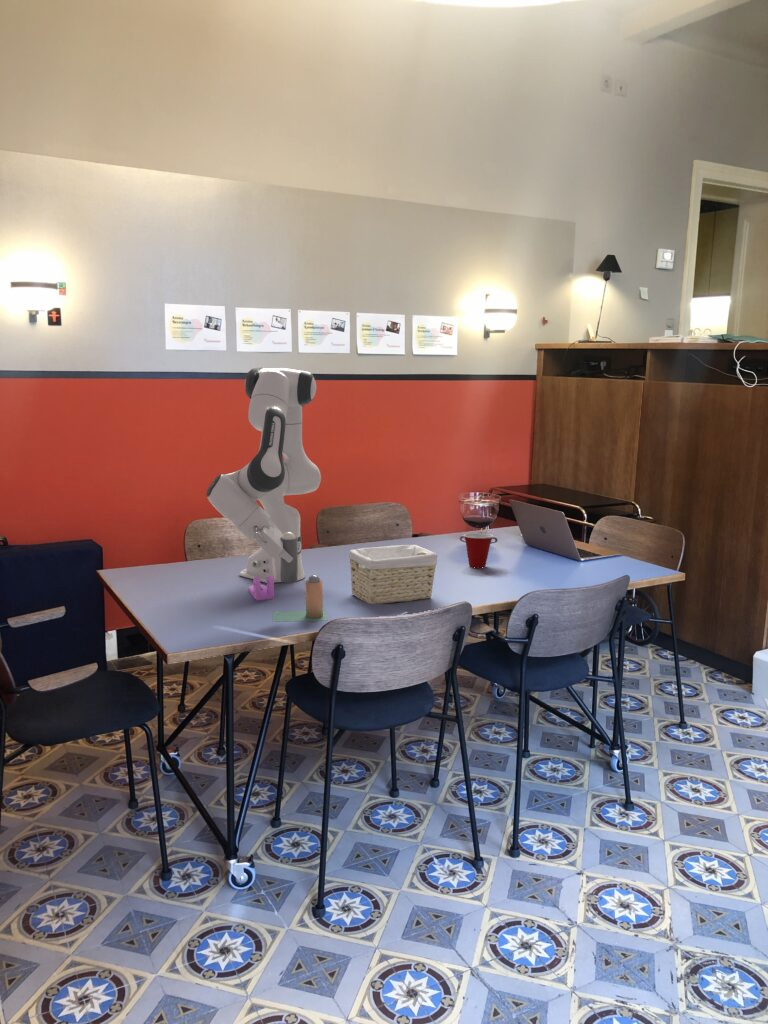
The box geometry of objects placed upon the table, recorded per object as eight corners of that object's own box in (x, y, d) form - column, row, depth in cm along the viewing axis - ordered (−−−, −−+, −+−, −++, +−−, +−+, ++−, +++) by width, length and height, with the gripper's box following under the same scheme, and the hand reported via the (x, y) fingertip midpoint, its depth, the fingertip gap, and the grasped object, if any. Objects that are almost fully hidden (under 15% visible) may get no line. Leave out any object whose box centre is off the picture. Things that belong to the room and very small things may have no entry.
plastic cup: (489, 562, 290) (491, 531, 288) (494, 570, 279) (496, 537, 277) (460, 562, 289) (461, 530, 287) (464, 570, 279) (465, 537, 277)
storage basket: (413, 586, 257) (414, 542, 255) (438, 599, 243) (439, 553, 241) (346, 594, 247) (347, 548, 244) (368, 608, 233) (369, 560, 230)
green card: (273, 624, 217) (273, 621, 217) (273, 614, 226) (273, 611, 226) (327, 623, 219) (327, 620, 219) (325, 613, 228) (325, 610, 227)
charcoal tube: (277, 581, 219) (276, 532, 216) (286, 577, 223) (286, 529, 221) (291, 583, 217) (291, 534, 214) (301, 579, 221) (300, 531, 218)
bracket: (274, 599, 241) (273, 577, 240) (256, 600, 239) (255, 578, 238) (264, 588, 253) (264, 567, 252) (247, 589, 251) (247, 568, 250)
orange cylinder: (302, 616, 222) (302, 576, 219) (311, 612, 226) (311, 572, 224) (317, 619, 219) (316, 578, 217) (326, 614, 224) (325, 574, 221)
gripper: (262, 523, 206) (299, 558, 209) (264, 509, 226) (298, 542, 229) (245, 539, 206) (283, 575, 209) (248, 524, 226) (283, 557, 229)
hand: (291, 557), depth 219 cm, fingers closed on charcoal tube, 5 cm apart
